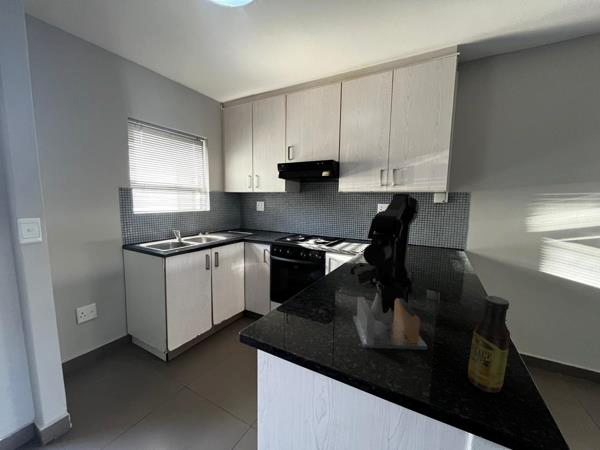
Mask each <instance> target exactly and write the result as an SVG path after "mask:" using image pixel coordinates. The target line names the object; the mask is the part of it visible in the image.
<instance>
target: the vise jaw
mask: <svg viewBox="0 0 600 450" xmlns="http://www.w3.org/2000/svg"><path fill="white" fill-rule="evenodd" d="M393 317H394V319H395V320H396V322H397V323H398V325H399V326H400V328H401V329H402V331H403V332H404V334H405V335H406V337H407V338H408V340H409V341H410V343H418V340H419V336H420V325H421V323H420V322H421V319H420V317H418V315H417V314H416V311H415V310H414V309H413V308H412V307H411V306H410V305H409V303H408V304H407V303H406V302H405V300H404V299H402V298H396V300H395V306H394V310H393Z"/></svg>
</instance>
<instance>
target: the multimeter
mask: <svg viewBox="0 0 600 450" xmlns="http://www.w3.org/2000/svg"><path fill="white" fill-rule="evenodd" d="M365 265H370V264H368V263H367V262H358V263H356V264H355V265H353V266H352V267H351V268H350V275H354V276H356V275H355V272H354V269H356V268H359V267H362V266H365Z"/></svg>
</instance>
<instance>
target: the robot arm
mask: <svg viewBox="0 0 600 450" xmlns="http://www.w3.org/2000/svg"><path fill="white" fill-rule="evenodd" d="M419 212H420V205H419V201H418V200H417V199H416V198H414V197H412V196H411V195H410V193H404V192H403V193H394V194H393V196H392V199H391V201H390V202H389V203H388V206H386V209H384V210H382V211H378V213H376V214H375V215H374V216H373V218H372V219H371V222H370V227H369V230H368V234H367V239H369V240H371V242H370V244H369V245H366V247H365V248H364V250H363V255H362V256H363V259H364V261H365V263H366V264H370V265H365V266H362V267H359V268H356V269H354V272H355V275H354V276H355V278H356V280H357V282H358V284H365V283H367V282H369V284H370V283H371V284H372V285H373V287H374V292H375V294H376V293H378V295H379V296H381V303H382V311H383V313H387V312H388V310H389V309H391V311H394V306H395V300H396V298H402V299H404V300H405V302H406V303H407V304H408V305H409V295H412V294H413V292H414V284H413V282H412V281H413V280H412V278H411V272H410V270H409V268H408V266H407V260H408V250H409V241H410V232H411V225H412V224H413V223H414V221H416V219H417V214H419ZM377 283H379V285H378V290H377V286H376V284H377ZM371 284H370V285H371ZM372 285H371V286H372Z"/></svg>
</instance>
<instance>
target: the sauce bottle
mask: <svg viewBox="0 0 600 450" xmlns="http://www.w3.org/2000/svg"><path fill="white" fill-rule="evenodd" d="M483 304H484V307H483V313H482V316H481V317H480V319H479V320H478V323H477V324H476V326H475V327H474V329H473V332H472V338H471V339H472V340H471V347H470V354H469V360H468V367H467V376H468V379H469V381H470V383H471V385H474V386H475V387H477V388H478V389H480V390H481V391H483V392H486V393H491V394H495V393H499V392H500V391H501V390H502V387H503V385H504V380H505V379H504V378H505V374H506V369H507V361H508V356H509V349H510V340H511V332H510V330H509V329H508V326H507V324H506V321H507V318H506V317H507V311H508V310H509V308H510V307H509V306H510V302H509V301H508V300H507V299H505V298H503V297H499V296H496V295H486V296H485V297H484V301H483Z"/></svg>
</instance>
